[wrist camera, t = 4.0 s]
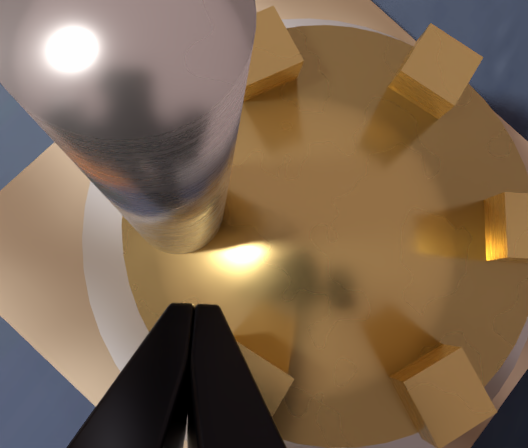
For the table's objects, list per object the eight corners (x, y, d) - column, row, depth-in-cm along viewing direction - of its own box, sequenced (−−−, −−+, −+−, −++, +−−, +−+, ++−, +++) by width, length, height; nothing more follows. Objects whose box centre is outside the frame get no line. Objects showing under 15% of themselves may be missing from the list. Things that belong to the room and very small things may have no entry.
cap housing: (327, 616, 16) (353, 683, 13) (-52, 254, 17) (-106, 242, 14) (606, 234, 20) (675, 222, 17) (287, -53, 20) (301, -113, 18)
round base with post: (340, 523, 14) (780, 1237, 3) (42, 242, 14) (-443, 49, 4) (569, 222, 17) (1244, 65, 6) (310, -11, 17) (492, -570, 6)
